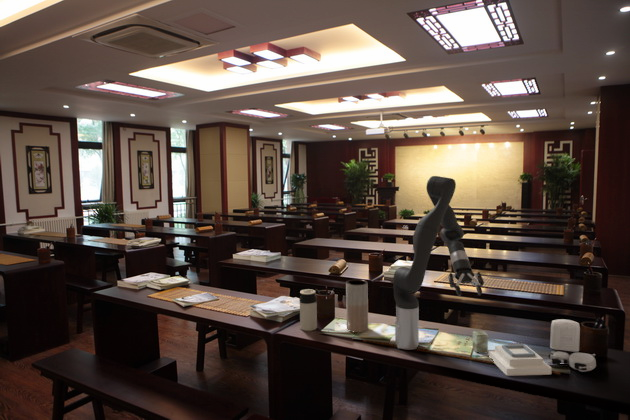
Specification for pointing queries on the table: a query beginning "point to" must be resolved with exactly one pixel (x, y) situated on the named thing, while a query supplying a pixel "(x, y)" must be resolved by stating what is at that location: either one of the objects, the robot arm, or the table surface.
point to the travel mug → (308, 310)
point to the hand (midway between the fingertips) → (470, 294)
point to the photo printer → (565, 335)
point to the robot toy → (574, 360)
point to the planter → (357, 305)
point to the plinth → (519, 368)
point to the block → (480, 341)
